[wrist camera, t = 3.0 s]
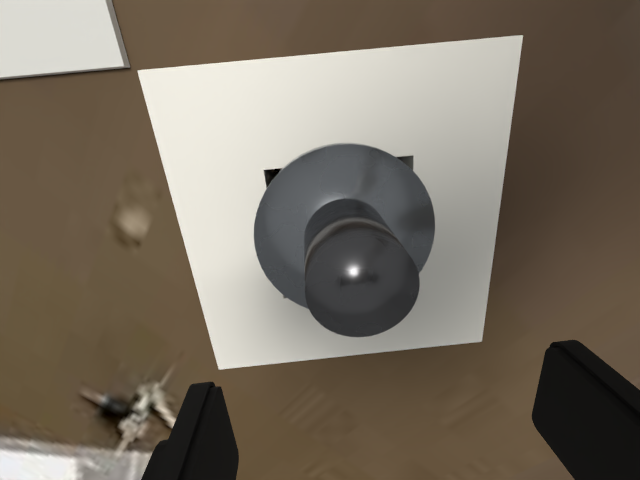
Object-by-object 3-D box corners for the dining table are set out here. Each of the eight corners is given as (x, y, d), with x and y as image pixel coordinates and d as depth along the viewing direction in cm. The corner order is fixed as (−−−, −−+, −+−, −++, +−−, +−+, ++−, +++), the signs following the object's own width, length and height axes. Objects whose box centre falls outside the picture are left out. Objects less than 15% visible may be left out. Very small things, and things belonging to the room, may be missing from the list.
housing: (467, 53, 22) (523, 35, 17) (448, 298, 30) (481, 341, 24) (179, 79, 22) (137, 70, 16) (234, 320, 30) (218, 369, 24)
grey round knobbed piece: (404, 128, 23) (504, 147, 12) (402, 262, 28) (475, 373, 16) (254, 142, 23) (207, 176, 12) (275, 275, 27) (256, 397, 16)
